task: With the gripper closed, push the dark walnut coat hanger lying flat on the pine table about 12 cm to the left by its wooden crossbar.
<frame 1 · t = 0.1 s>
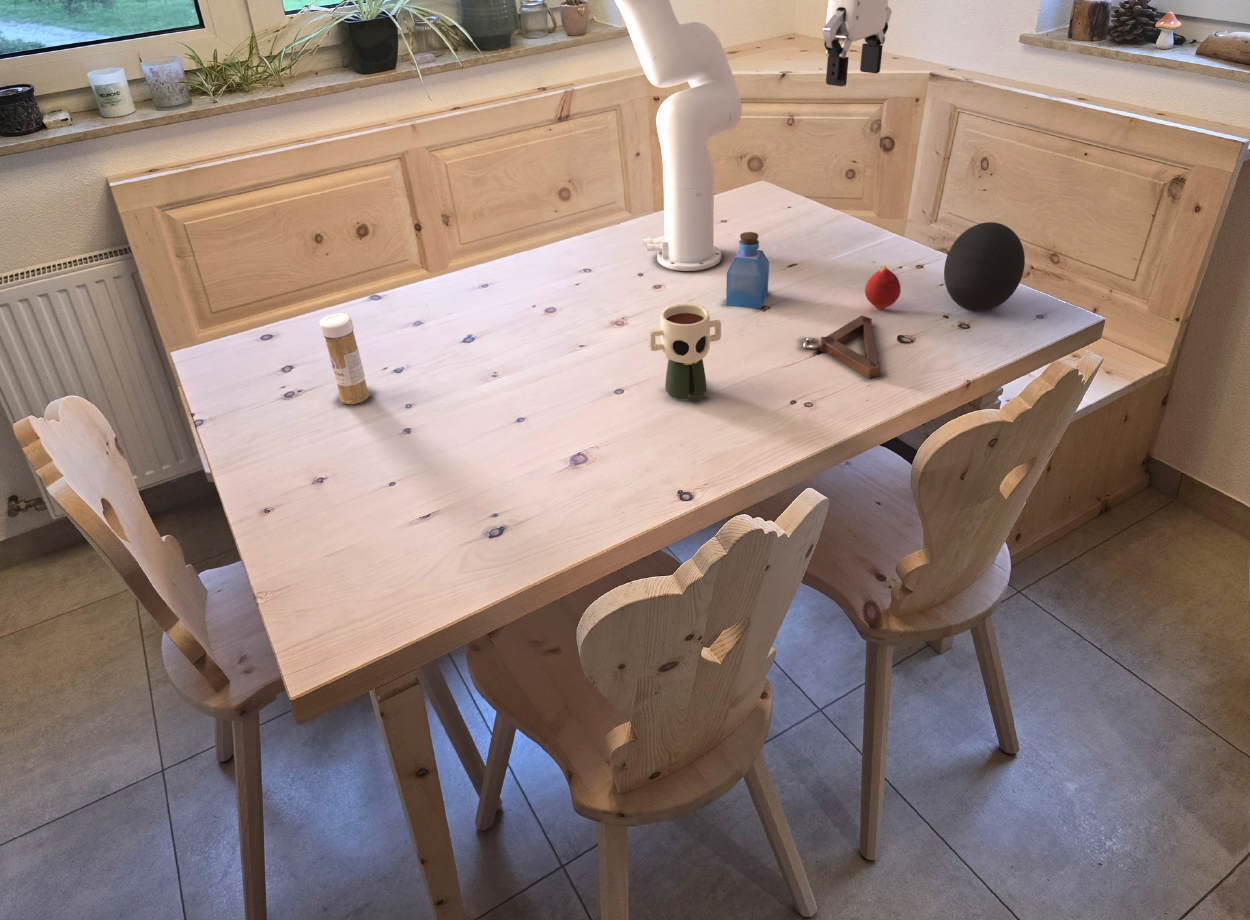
hand: (853, 78, 136), 37 cm above the table, tool pointing down, fingers open, 9 cm apart
onion: (880, 310, 155), on the table
sprinkles bottle: (355, 398, 138), on the table
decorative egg: (975, 309, 153), on the table
hanger: (849, 349, 143), on the table
perfume bottle: (747, 300, 160), on the table
character mug: (686, 393, 135), on the table
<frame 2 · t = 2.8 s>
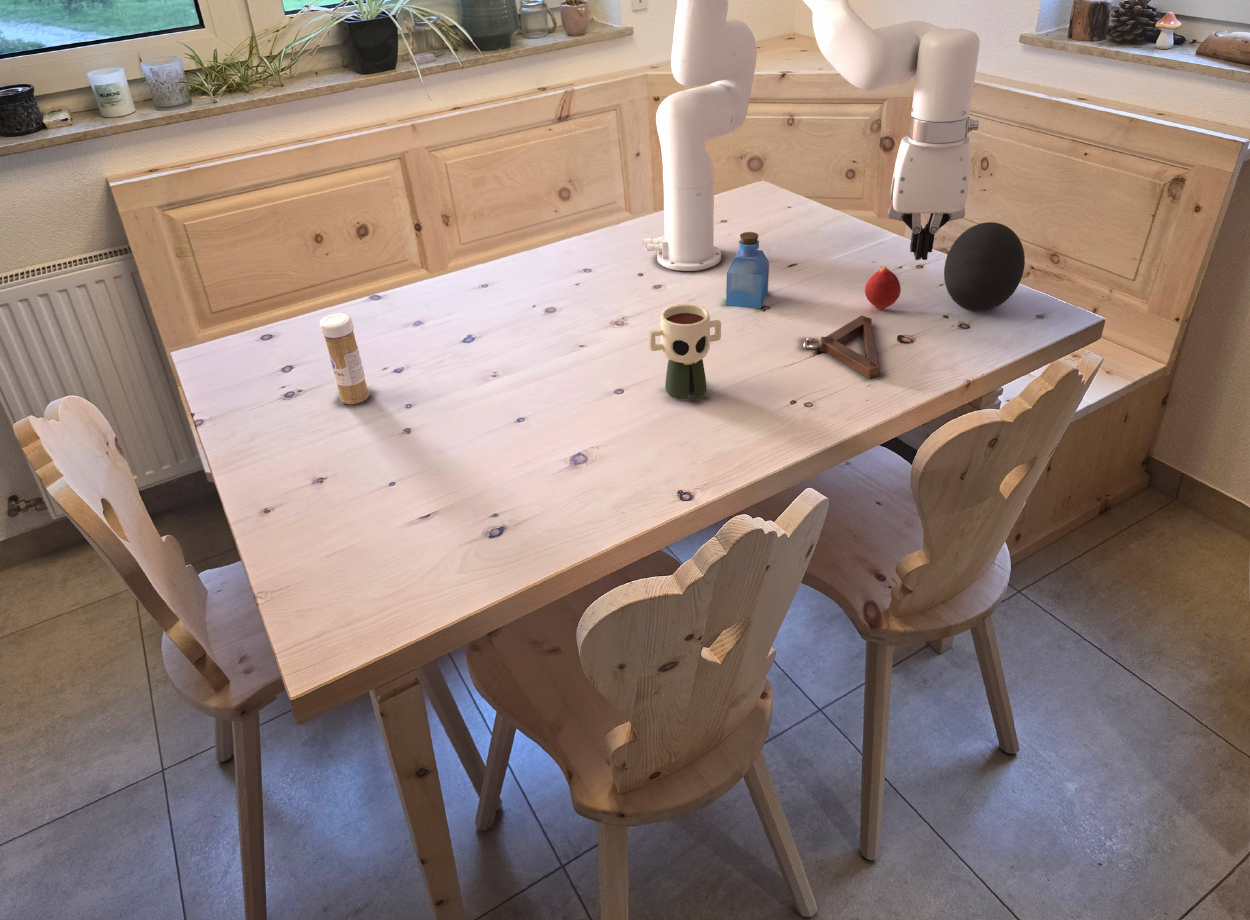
hand: (920, 256, 133), 16 cm above the table, tool pointing down, fingers closed
nothing on the table moved.
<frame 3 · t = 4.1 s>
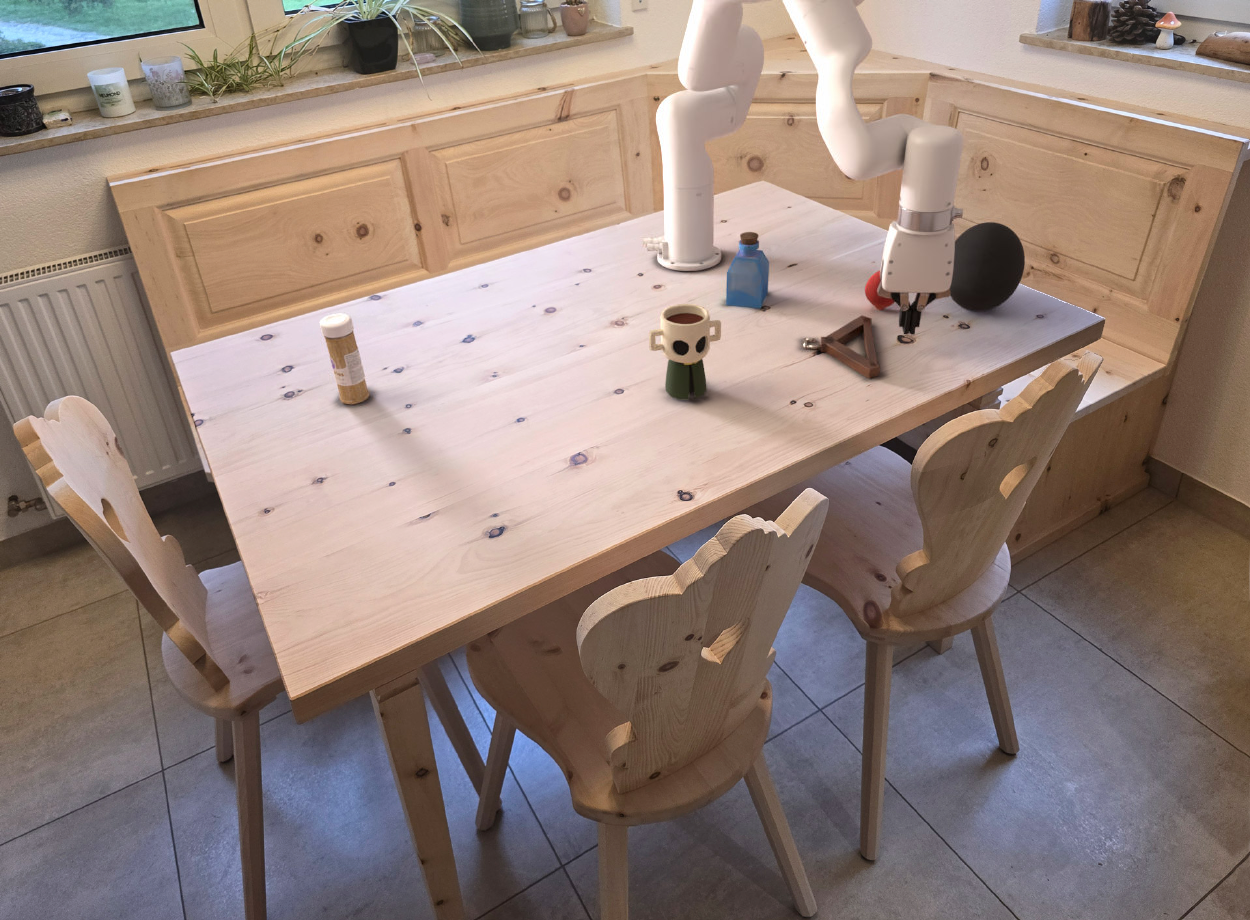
hand: (908, 330, 140), 4 cm above the table, tool pointing down, fingers closed
nothing on the table moved.
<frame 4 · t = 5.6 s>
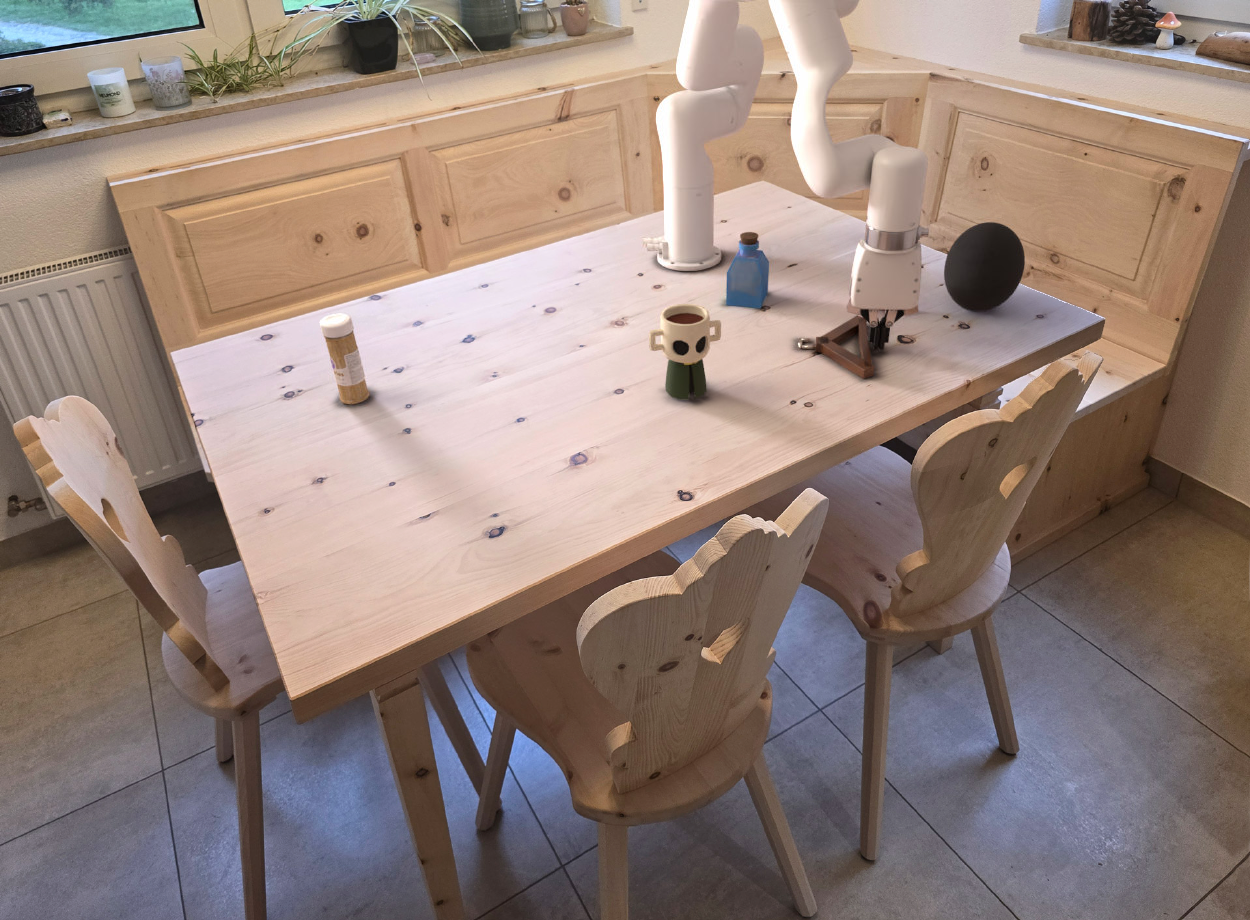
hand: (877, 346, 142), 1 cm above the table, tool pointing down, fingers closed
hanger: (844, 349, 143), on the table, touching gripper
everything else where it was.
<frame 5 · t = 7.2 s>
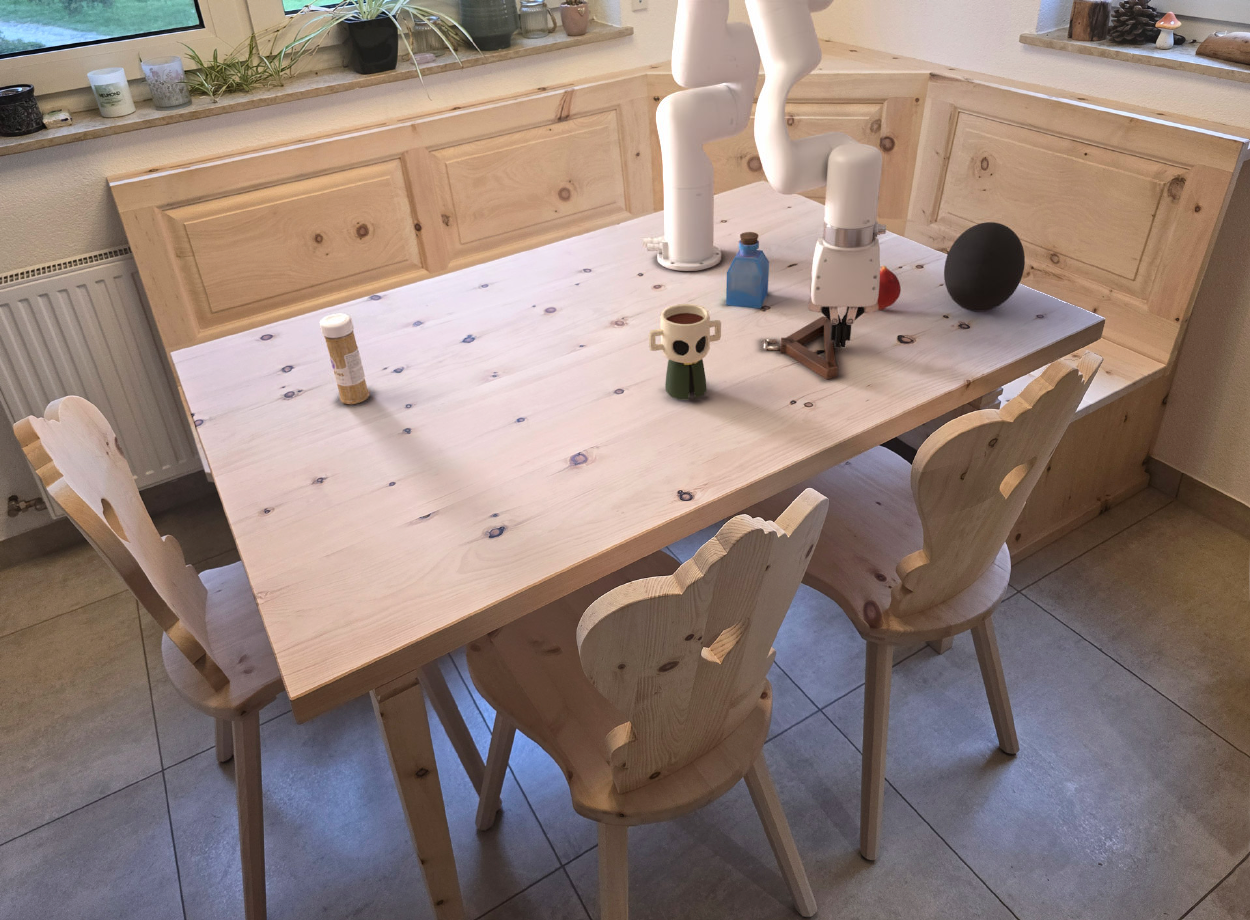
hand: (839, 343, 142), 1 cm above the table, tool pointing down, fingers closed
hanger: (809, 350, 144), on the table, touching gripper
everything else where it was.
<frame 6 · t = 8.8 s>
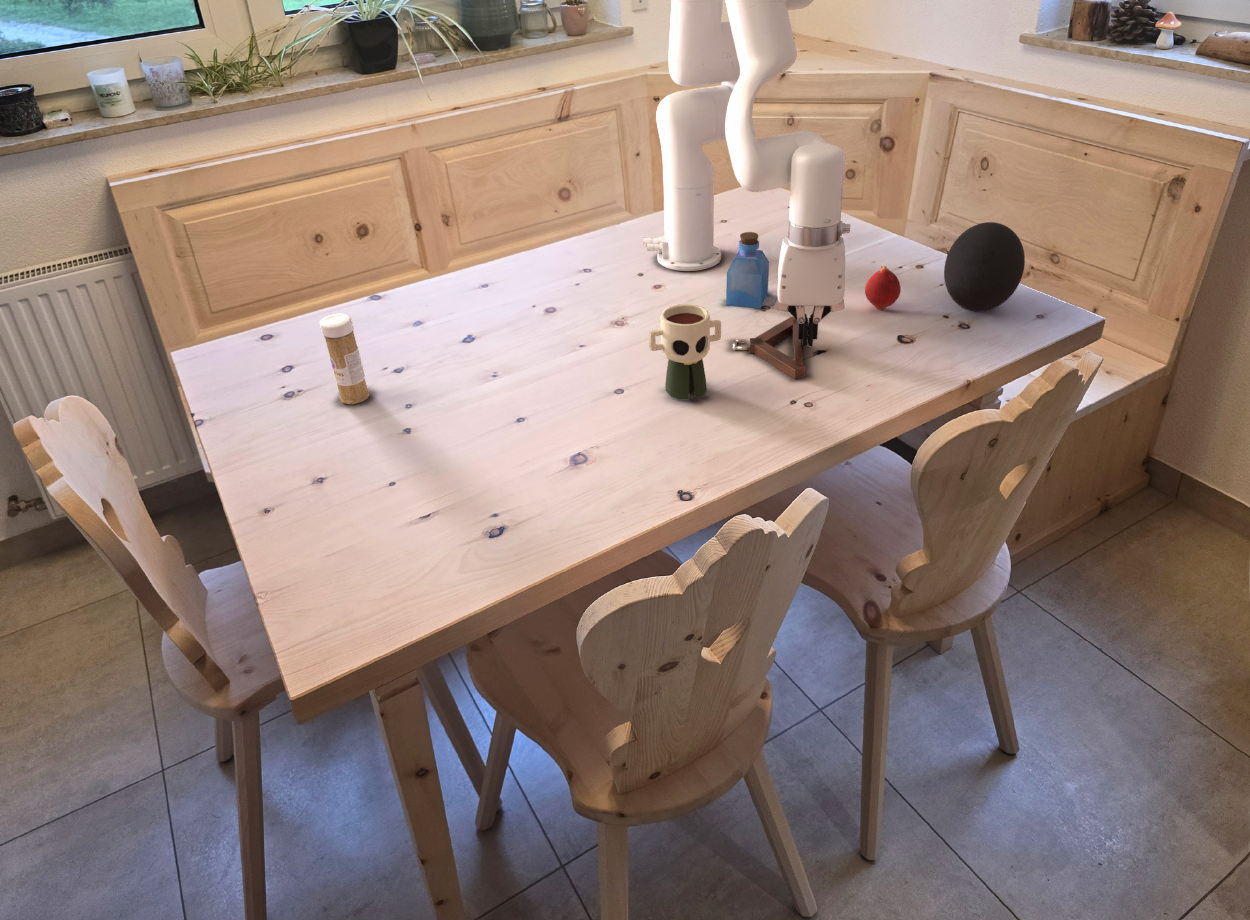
hand: (807, 342, 143), 1 cm above the table, tool pointing down, fingers closed
hanger: (778, 350, 144), on the table, touching gripper
everything else where it was.
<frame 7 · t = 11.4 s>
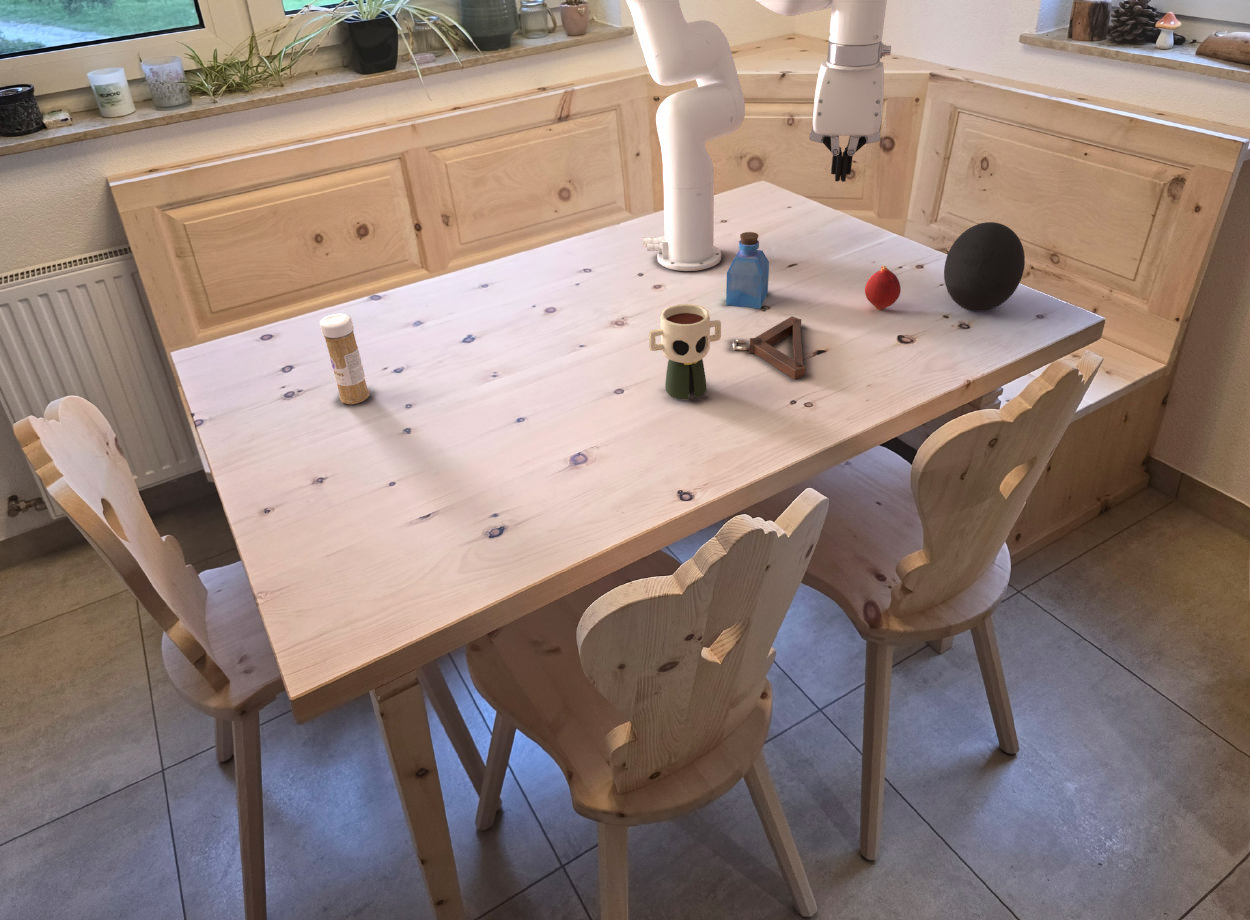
hand: (840, 178, 141), 23 cm above the table, tool pointing down, fingers closed
hanger: (778, 350, 144), on the table
everything else where it was.
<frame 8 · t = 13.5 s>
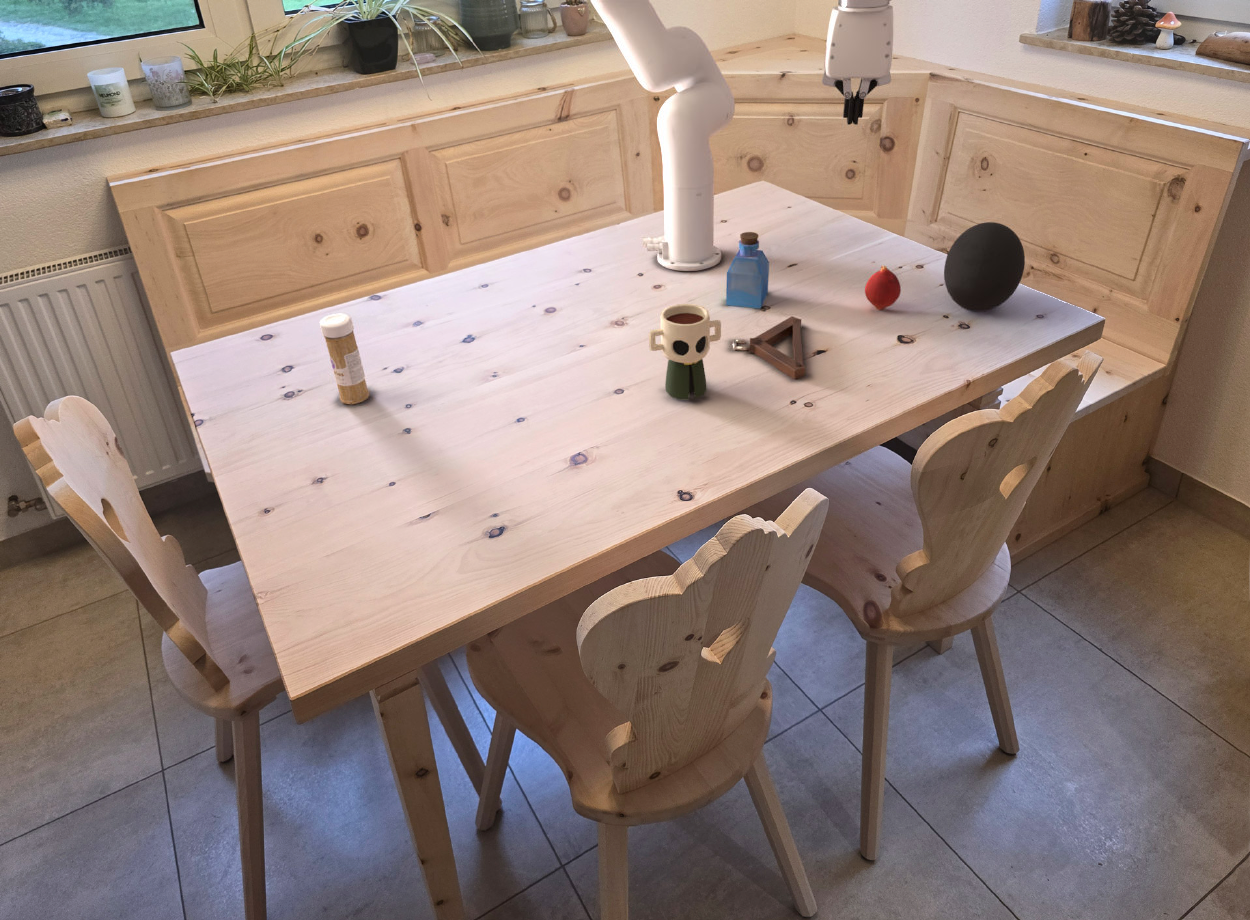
hand: (852, 122, 146), 29 cm above the table, tool pointing down, fingers closed
nothing on the table moved.
at the end: hanger inside the target area (1.9 cm from its centre), on the table; hanger moved 11.4 cm from its start; hanger tilted 0° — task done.
